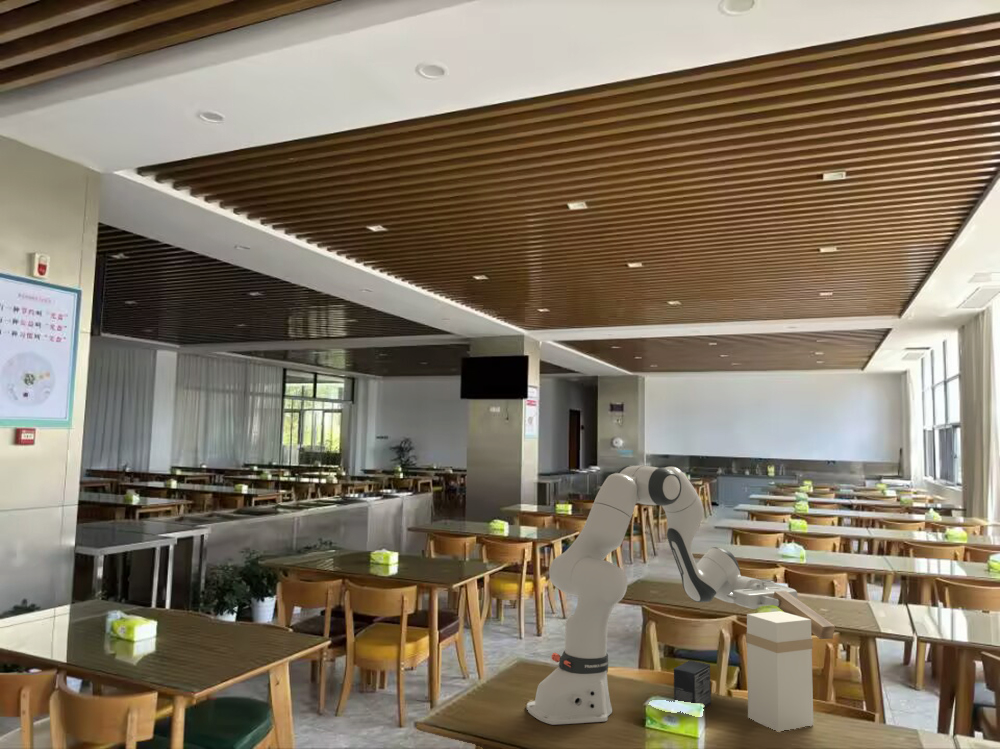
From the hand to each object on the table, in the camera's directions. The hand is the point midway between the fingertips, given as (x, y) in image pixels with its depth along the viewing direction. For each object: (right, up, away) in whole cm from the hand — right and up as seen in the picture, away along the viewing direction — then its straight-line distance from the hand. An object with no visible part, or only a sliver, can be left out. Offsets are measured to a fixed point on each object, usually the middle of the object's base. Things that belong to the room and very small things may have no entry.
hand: (786, 602), depth 194 cm
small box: (-29, -25, -9) cm, 40 cm away
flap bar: (+2, -3, -6) cm, 7 cm away
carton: (-9, -25, -18) cm, 32 cm away
